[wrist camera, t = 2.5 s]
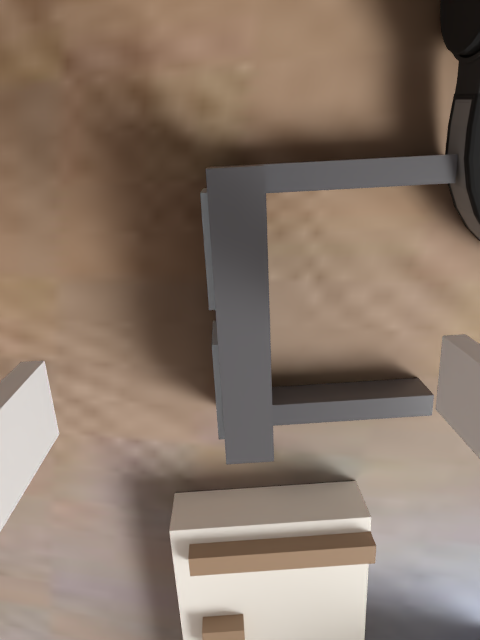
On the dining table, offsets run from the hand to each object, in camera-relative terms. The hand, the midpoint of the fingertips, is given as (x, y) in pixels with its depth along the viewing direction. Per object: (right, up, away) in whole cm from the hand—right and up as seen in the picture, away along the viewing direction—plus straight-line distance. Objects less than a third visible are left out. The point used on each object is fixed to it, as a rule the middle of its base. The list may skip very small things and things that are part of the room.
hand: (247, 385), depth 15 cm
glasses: (+4, +4, +9) cm, 10 cm away
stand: (+2, -15, +15) cm, 21 cm away
